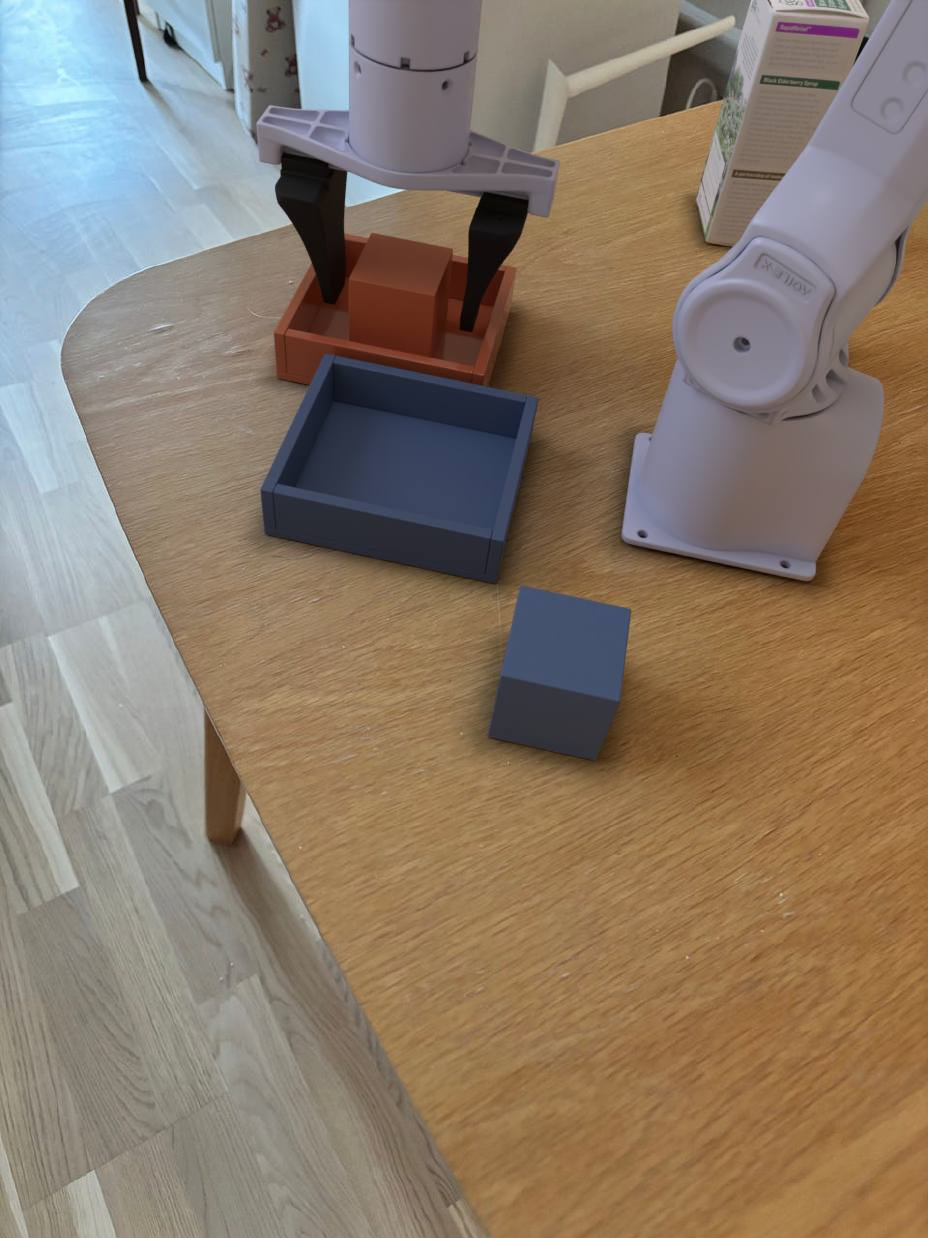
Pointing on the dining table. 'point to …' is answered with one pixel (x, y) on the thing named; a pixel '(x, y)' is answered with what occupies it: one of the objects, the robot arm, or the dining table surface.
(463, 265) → the terracotta bin
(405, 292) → the terracotta block
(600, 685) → the blue block
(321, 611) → the dining table surface
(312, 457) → the blue bin
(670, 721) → the dining table surface
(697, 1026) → the dining table surface
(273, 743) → the dining table surface
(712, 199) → the syrup box
